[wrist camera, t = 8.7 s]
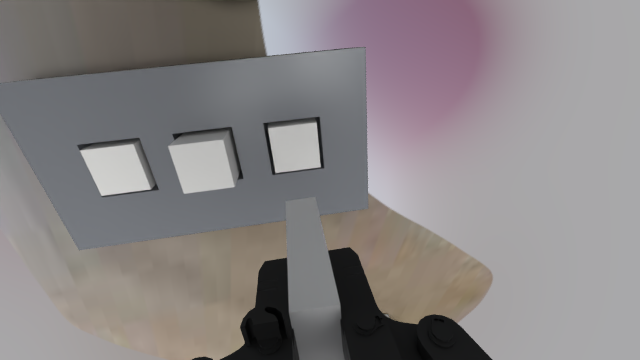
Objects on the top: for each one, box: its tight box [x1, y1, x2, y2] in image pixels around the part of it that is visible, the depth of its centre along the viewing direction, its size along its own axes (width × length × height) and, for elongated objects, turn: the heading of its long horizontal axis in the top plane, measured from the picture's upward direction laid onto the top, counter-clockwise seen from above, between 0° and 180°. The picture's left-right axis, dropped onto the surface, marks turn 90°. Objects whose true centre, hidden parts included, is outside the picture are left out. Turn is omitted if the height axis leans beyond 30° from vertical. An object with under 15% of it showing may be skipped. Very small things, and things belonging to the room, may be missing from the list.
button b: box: [168, 127, 241, 194], centre depth 26 cm, size 4×4×4 cm
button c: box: [268, 117, 321, 173], centre depth 28 cm, size 4×4×4 cm
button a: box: [80, 138, 157, 196], centre depth 27 cm, size 4×4×4 cm
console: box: [0, 47, 368, 250], centre depth 28 cm, size 16×30×5 cm, turn 95°
